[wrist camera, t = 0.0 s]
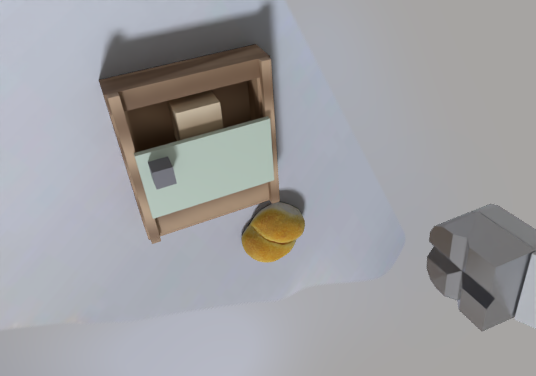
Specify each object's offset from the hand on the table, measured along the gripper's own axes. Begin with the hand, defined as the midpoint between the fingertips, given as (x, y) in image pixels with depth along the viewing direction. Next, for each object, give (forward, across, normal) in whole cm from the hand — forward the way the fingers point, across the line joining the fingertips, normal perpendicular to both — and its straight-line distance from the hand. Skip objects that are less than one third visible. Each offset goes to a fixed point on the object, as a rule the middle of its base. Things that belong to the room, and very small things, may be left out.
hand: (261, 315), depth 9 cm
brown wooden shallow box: (+41, -7, +16) cm, 44 cm away
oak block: (+40, -7, +12) cm, 42 cm away
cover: (+36, -7, +17) cm, 41 cm away
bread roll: (+43, -15, +33) cm, 56 cm away
